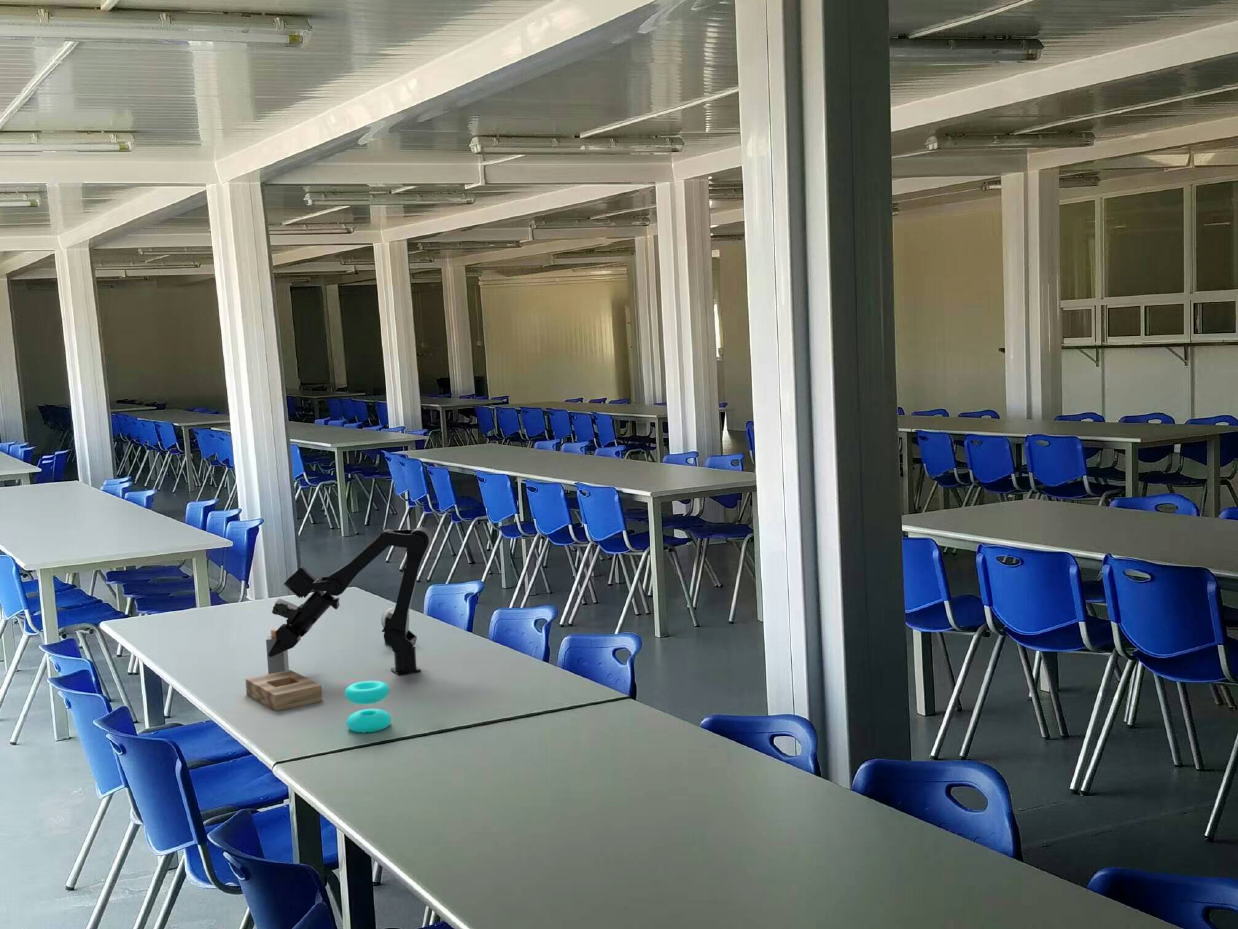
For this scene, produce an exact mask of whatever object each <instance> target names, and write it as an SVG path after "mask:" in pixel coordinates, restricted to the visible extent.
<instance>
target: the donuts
mask: <svg viewBox="0 0 1238 929" xmlns="http://www.w3.org/2000/svg"><path fill="white" fill-rule="evenodd" d="M389 693H390V687H389V686H388V684H387V683H385V682H383V681H379V680H365V681H358V682H355V683H352V684H350V685H348V686H347V687H346V688H345V690H344V696H345V698H346V699H347V701H349V702H351V703H353V704H357V705H368V704H369V705H370V704H374V703H378V702H381V701H383V700H385V698H386V697H387V696H388V695H389ZM391 721H392V718H391V715H390V714H389V713H388V712H387V711H386V710H383V709H379V708H366V709H361V710H360V709H359V710H357V711H355V712H354V713H352V714H351V715H349V716H348V719H347V721H346V726H347V728H348V729H349V730H350V731H352V732H355V733H360V732H361V733H363V734H365V733H366V732H368V733H375V732H378V731H379V732H380V731H381V730H384V729H386V728H387V727H388V726H390V724H391ZM366 734H367V733H366Z"/></svg>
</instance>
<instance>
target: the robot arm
mask: <svg viewBox="0 0 1238 929" xmlns="http://www.w3.org/2000/svg"><path fill="white" fill-rule="evenodd" d="M432 536H433V535H432V533H431V532H430V530H429V529H428V528H426V527H424V526H419V527H415V528H414V529H388V528H387V529H385V530H383V531H382V532H381V533H380V535H379V536H377V538H375V539H374V541H372V542H371V543H369V545H368V546H366V547H365V548H364V549H363V550H362V551H361V552H360V553H359V554H358V555H356V557H354V558H353V559H352V560H350V562H348V563H346V564H343V566H340V567H339V568H337V569H335V571H333V572H331V573H330V574H329V575H328V576H321V577H317V578H316V577H315V576H314V575H312V574H311V573H310V572H309V571H308V570H307V569H306V568H305V567H304V566H300V567H299V568H298V569H297V570H296V571H295V572H294V573H292V574H291V576H290V577H288V579H287V580H285V582H284V583H283V586H285V587H286V588H287V589H288V591H290V592H291V593H293V594H294V595H295V597H297V598H299V599H300V598H301V599H302V598H304V599H305V598H307V597H308V595H309V594H311V593H312V591H313V593H312V594H311V595H310V596H309V597H308V598H307V599H306V600H305V601H304V603H301V604H300V605H296V604H294V603H292V602H290V601H287V600H285V599H282V598H279V599H277V600H276V601H275V603H274V606H273V607H272V611H271V613H272V614H273V615H275V616H280V617H283V618H285V619H286V620H285V621H286V623H282V625H280V626H279V627H278V628H277V629H278V630H277V631H276V633H275V635H276V638H277V640H276V642H275V644H274V645H273V647H272V649H271V650H270V652H269V654H268V656H270V657H273V656H275V655H277V654H279V653H282V652H284V651H286V650H291V649H293V648H295V647H296V645H297V644H298V643H299V642H300V641H301V640H302V639H301V638H302V637H304V636H305V635H306V634H307V633H308V632H309V631H310V630H311V629H312V628H313V626H314V624H315V623H316V622H317V621H318V620H319V619H320V618H321V617H322V616H323V614H325V613H326V612H327V611H328V609H329V608H330V607H331V608H333V609H334V610H338V608H340V597H338V596H340V595H342V594H343V593H344V592H345V591H346V589H348V588H349V586H350V585H351V584H352V582H353V581H354V580H355V578H356V577H357V576H358V575H359V573H360V572H361V571H362V570H363V569H365V568H366V566H368V565H369V564H370V563H372V562H373V561H374V560H375V559H376V557H378V556H379V555H380V554H381V553H382V552H384V551H385V550H386V549H387V548H389V547H395V548H403V549H406V564H405V567H404V571H403V576H402V578H401V583H400V586H399V591H398V595H397V600H396V604H395V610H393V613H392V612H390V613H388V615H387V616H386V618H385V627H384V628H383V629H382V631H381V632H382V633H383V640H384V639H385V640H384V642H385V641H386V643H388V644H389V645H391V646H390V648H391V650H392V652H393V655H394V657H393V658H394V667H390V671H391V672H393V673H395V674H396V675H398V676H400V675H401V676H402V675H406V674H412V673H417V672H422V669H421V668H420V667H418V666H417V655H416V654H417V651H416V650H417V649H416V646H415V645H416V642H417V639H418V636H417V635H415V634H414V633H413V632H412V631H410V628H409V627H410V610H411V605H412V600H413V596H414V594H415V589H416V584H417V581H418V577H419V572H420V569H421V564H422V561H424V560H423V559H424V557H425V555H426V553H427V551H428V549H429V548H430V544H431V542H432V540H433V539H432V538H433V537H432ZM335 596H336V597H335Z"/></svg>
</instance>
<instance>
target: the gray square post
mask: <svg viewBox="0 0 1238 929" xmlns="http://www.w3.org/2000/svg"><path fill="white" fill-rule="evenodd" d="M278 629H279V628H273V629H271V630H270V635H269V636H268V637H267V638H266V639H265V643H266V655H267V656H266V658H267V659H266V661H267V669H268V670H267V671H268V674H272V673H277V672H282V671H287V670H290V666H289V665H290V664H289V651H288V650H289V649H288V650H286V651H284V652H282V653H279V654H277V655H275V656H273V657H270V656H268V654H269V652H270V650H271V649H272V647H273V645H274V644H275V642H276V640H277V638H276V635H275V633H276V631H277V630H278Z"/></svg>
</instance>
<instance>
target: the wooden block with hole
mask: <svg viewBox="0 0 1238 929" xmlns="http://www.w3.org/2000/svg"><path fill="white" fill-rule="evenodd" d="M322 689H323V688H322V684H319V683H317V682H316V681H313V680H312V679H310V678H307V676H304V675H301V674H300V673H297V672H296V671H294V670H292V669H289V670H287V671H282V672H277V673H272V674H262V675H258V676H253V677H248V678H245V690H246V691H245V692H246V695H247V696H249V697H251V698H253V699H254V700H256V701H257V702H259V703H260V704H262V705H265V706H266V707H268V708H270V709H271V710H273V711H276V712H278V711H283V710H287V709H291V708H296V707H297V708H298V707H301V706H304V705H305V706H306V705H310V704H314V703H319V702H323V692H322Z"/></svg>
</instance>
